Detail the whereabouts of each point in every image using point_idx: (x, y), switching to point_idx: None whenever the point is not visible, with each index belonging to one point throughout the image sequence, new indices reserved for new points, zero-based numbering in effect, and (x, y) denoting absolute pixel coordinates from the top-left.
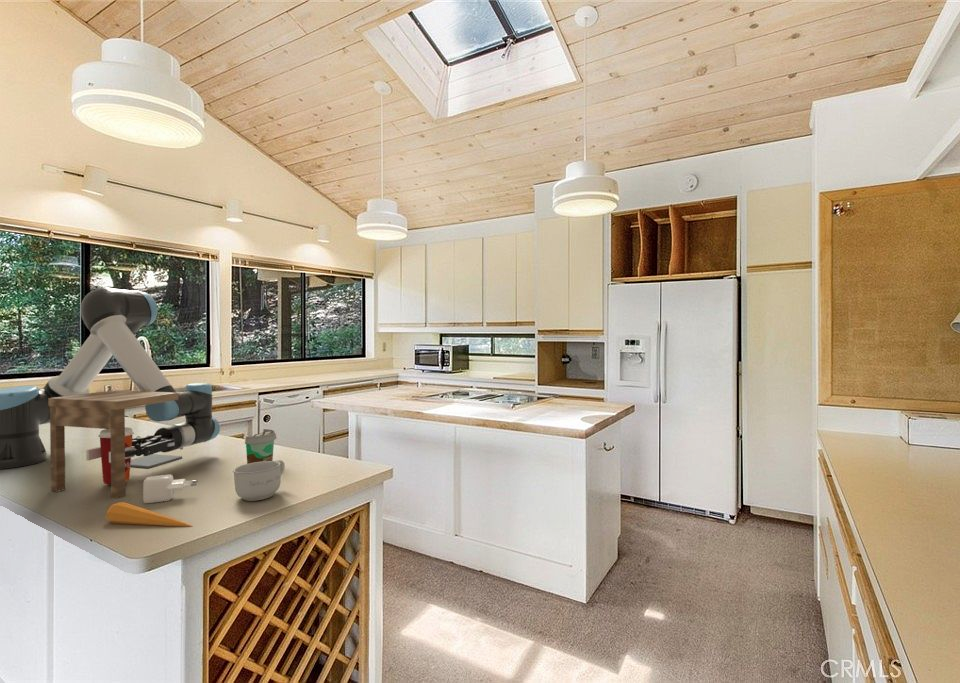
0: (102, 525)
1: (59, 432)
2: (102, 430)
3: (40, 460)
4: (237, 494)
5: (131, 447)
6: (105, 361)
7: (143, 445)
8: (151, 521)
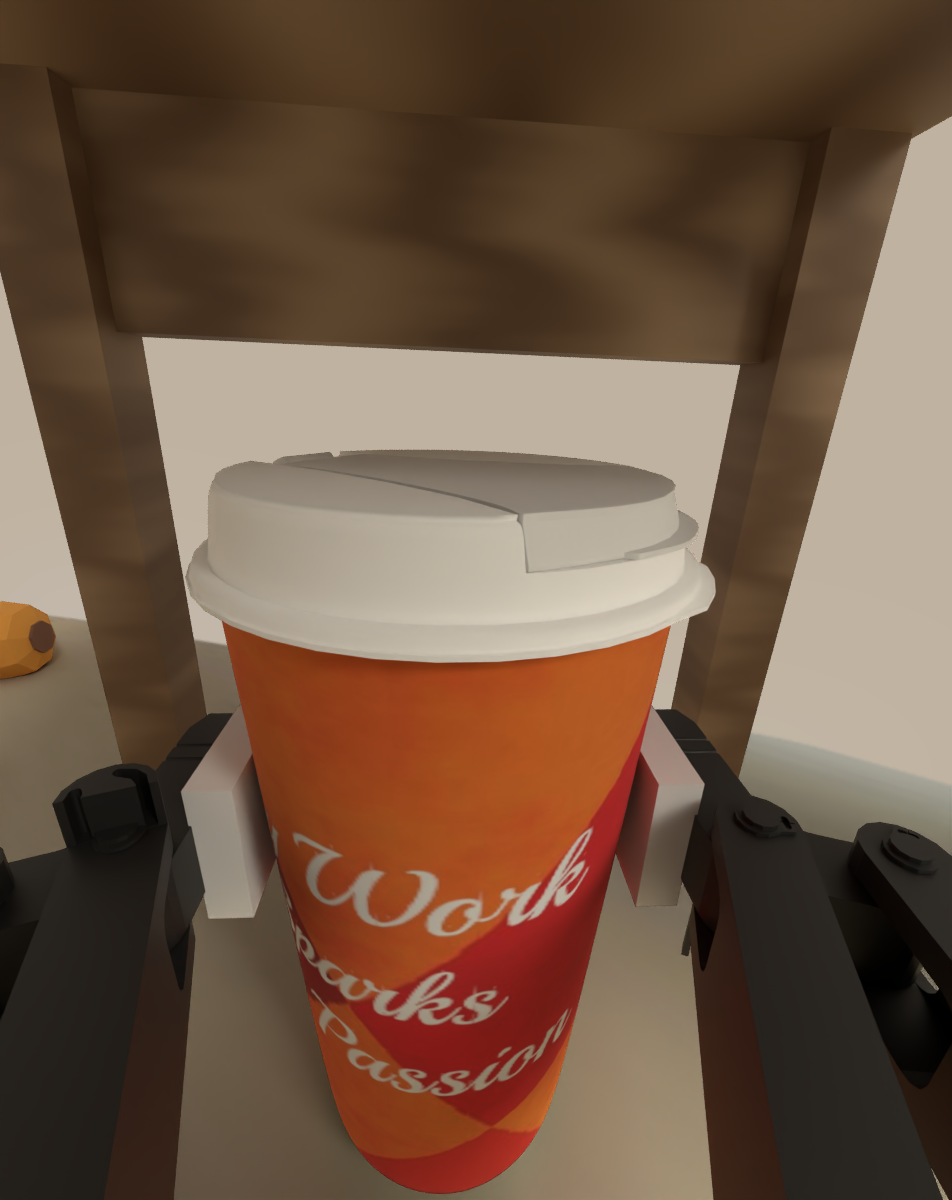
0: (70, 649)
1: (738, 432)
2: (592, 462)
3: None
4: None
5: (206, 756)
6: None
7: (39, 934)
8: None
